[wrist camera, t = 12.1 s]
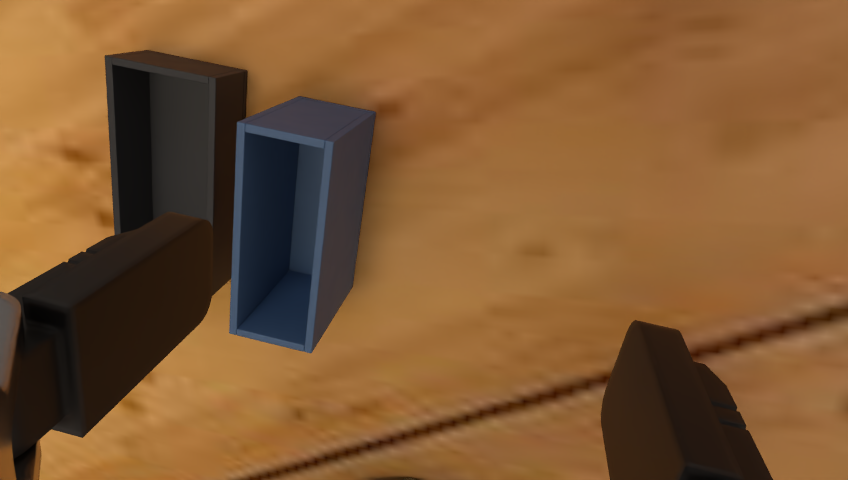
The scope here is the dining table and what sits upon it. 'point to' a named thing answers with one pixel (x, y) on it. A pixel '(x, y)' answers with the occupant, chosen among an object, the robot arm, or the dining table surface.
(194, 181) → the black bin
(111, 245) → the robot arm
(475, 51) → the dining table surface
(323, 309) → the blue tote
